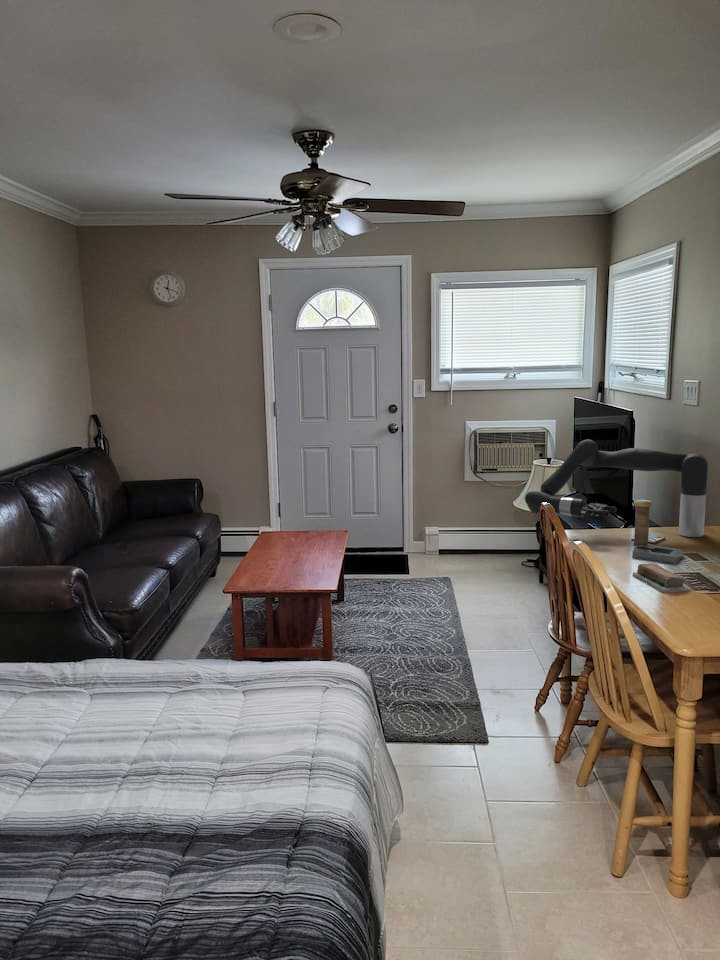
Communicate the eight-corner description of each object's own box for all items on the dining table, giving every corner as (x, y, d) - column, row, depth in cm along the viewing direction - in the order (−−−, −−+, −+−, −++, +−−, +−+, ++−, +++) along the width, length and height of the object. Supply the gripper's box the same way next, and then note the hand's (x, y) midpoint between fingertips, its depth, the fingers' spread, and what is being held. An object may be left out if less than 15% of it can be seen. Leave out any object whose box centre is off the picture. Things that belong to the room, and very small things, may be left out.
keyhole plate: (674, 563, 241) (674, 556, 241) (630, 557, 251) (630, 550, 250) (682, 556, 250) (682, 549, 250) (639, 550, 260) (639, 543, 259)
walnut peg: (635, 542, 271) (636, 499, 268) (651, 544, 267) (654, 500, 264) (630, 545, 266) (631, 501, 263) (647, 548, 262) (649, 503, 259)
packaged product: (631, 563, 229) (659, 561, 230) (631, 576, 230) (658, 574, 231) (663, 579, 211) (692, 577, 213) (662, 594, 212) (691, 592, 214)
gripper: (566, 500, 275) (606, 505, 265) (579, 495, 286) (618, 499, 276) (565, 519, 276) (605, 524, 266) (578, 512, 287) (617, 517, 277)
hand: (612, 511), depth 271 cm, fingers open, 8 cm apart
